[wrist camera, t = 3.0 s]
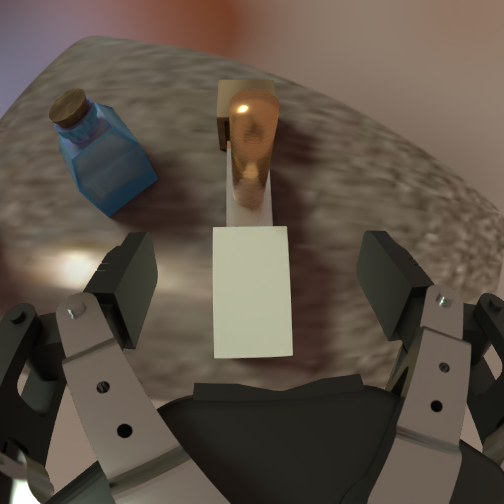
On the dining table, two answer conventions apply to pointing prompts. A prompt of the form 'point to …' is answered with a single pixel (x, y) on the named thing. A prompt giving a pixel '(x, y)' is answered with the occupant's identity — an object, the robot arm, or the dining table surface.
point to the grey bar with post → (250, 157)
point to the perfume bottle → (100, 152)
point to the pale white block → (251, 292)
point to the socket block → (224, 95)
